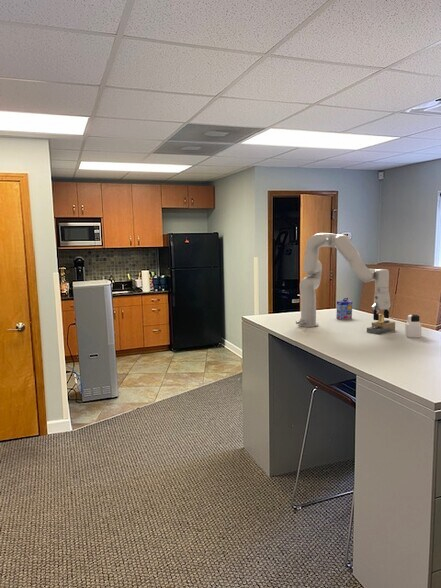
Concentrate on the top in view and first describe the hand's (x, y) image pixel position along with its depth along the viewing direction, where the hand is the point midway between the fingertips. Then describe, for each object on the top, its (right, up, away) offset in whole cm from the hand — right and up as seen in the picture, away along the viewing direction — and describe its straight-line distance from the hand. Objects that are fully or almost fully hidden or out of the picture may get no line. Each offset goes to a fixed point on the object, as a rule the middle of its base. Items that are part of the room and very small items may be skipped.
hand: (381, 319), depth 249 cm
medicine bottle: (+13, -9, -14) cm, 21 cm away
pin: (0, -7, +1) cm, 7 cm away
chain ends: (0, -7, +1) cm, 7 cm away
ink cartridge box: (-9, -2, +43) cm, 44 cm away
